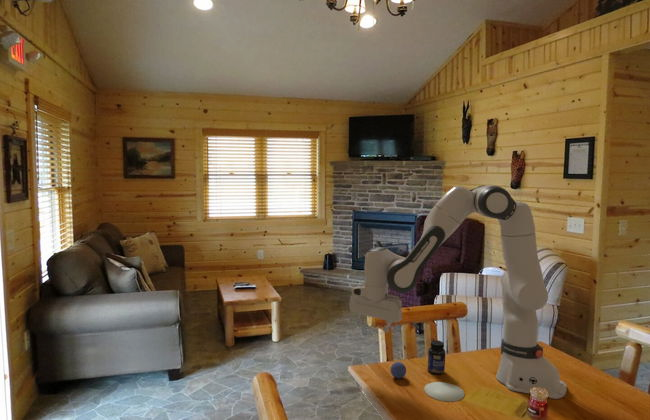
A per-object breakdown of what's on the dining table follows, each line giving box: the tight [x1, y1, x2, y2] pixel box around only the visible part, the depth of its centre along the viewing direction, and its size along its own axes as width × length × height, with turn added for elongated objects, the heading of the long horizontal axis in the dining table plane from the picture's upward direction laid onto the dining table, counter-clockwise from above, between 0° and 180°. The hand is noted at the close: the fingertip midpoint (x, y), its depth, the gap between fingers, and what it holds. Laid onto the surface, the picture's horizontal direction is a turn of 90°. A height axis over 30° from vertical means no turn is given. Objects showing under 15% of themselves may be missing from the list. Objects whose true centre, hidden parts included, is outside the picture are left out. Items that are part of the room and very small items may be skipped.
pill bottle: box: [427, 339, 446, 376], centre depth 167 cm, size 6×6×11 cm
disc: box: [423, 381, 465, 403], centre depth 152 cm, size 13×13×1 cm
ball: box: [390, 361, 407, 379], centre depth 162 cm, size 6×6×6 cm
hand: (374, 328), depth 166 cm, fingers open, 8 cm apart
